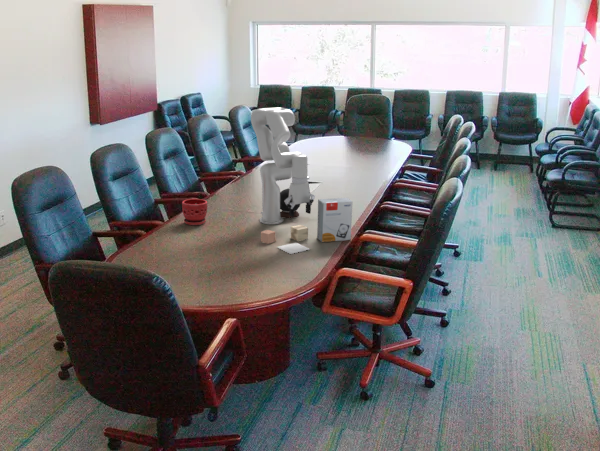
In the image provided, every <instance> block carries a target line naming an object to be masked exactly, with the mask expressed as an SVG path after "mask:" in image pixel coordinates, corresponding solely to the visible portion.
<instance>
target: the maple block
mask: <svg viewBox="0 0 600 451" xmlns="http://www.w3.org/2000/svg"><path fill="white" fill-rule="evenodd" d="M308 238H309V228H308V227H307V226H305V225H303V224H298V225H293V226H290V239H291V240H294V241H296V240H297V242H302V241H306V240H309V239H308ZM305 239H306V240H305ZM301 240H302V241H301Z"/></svg>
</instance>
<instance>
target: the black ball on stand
mask: <svg viewBox="0 0 600 451" xmlns="http://www.w3.org/2000/svg"><path fill="white" fill-rule="evenodd" d="M288 197H289V188H285V189H283V190H282V191H281V190H280V217H282V218H283V219H296V218H299V217H300V213H299V211H298V209H299V208H300V207H301V204H295V206H294V207H293V209H294V217H292V216H290V215H289V208H288V207H287V206H286V204H285V202H284V200H286V199H287V198H288ZM289 204H290V203H289Z"/></svg>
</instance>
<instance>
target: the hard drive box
mask: <svg viewBox="0 0 600 451" xmlns="http://www.w3.org/2000/svg"><path fill="white" fill-rule="evenodd" d="M317 202H318V204H317V229H316V230H317V233H316V238H317V239H318V240H319V242H321V243H327V242H329V243H331V242H338V241H341V242H342V241H351V238H352V219H353V218H352V217H353V214H352V213H353V201H352V200H351V199H350V198H349V197H337V198H320V199H318V200H317Z"/></svg>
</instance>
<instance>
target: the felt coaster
mask: <svg viewBox="0 0 600 451" xmlns="http://www.w3.org/2000/svg"><path fill="white" fill-rule="evenodd" d="M276 248H277V249H278V248H279V249H278V250H280V249H281V250H280V251H282V250H283V252H284V251H285V253H286V252H287V253H286V254H288V253H289V254H288V255H290V254H291V255H294V253H295V254H298V252H299V253H303V252H307V251H306V250H308V251H310V250H311V249H310V248H309V247H306V246H305V245H303V244H300V243H298V242H293V243H287V244H283V245H279V246H276Z"/></svg>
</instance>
